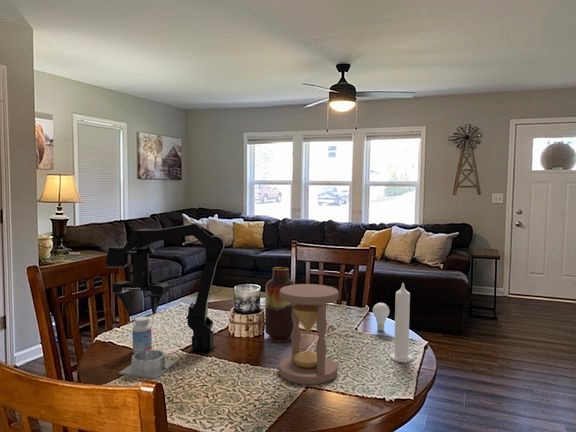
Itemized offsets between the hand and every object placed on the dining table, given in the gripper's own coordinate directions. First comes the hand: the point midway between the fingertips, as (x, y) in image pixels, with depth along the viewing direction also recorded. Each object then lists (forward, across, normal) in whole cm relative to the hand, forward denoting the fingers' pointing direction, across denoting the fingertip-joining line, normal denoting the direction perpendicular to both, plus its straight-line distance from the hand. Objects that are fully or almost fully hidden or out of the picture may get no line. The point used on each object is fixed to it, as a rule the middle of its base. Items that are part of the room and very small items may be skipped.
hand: (141, 313), depth 149 cm
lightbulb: (+14, -77, -43) cm, 89 cm away
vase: (+14, -42, -23) cm, 50 cm away
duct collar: (+13, -10, +13) cm, 21 cm away
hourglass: (+14, -57, +3) cm, 59 cm away
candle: (+14, -85, -16) cm, 87 cm away
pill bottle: (+13, 0, +1) cm, 13 cm away
